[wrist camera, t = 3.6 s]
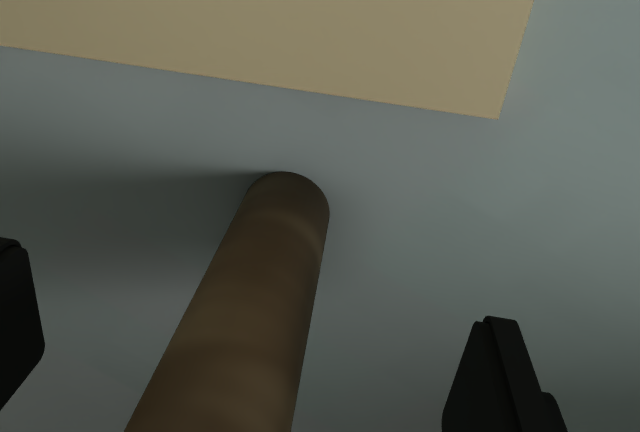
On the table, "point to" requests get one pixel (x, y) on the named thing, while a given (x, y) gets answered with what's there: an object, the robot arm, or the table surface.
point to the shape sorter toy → (297, 43)
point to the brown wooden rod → (245, 320)
